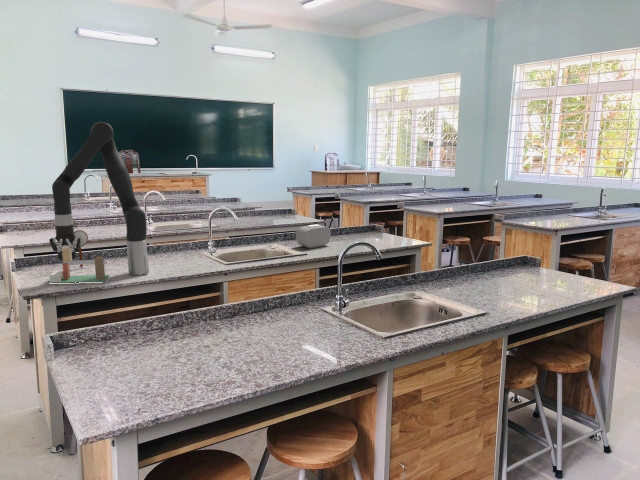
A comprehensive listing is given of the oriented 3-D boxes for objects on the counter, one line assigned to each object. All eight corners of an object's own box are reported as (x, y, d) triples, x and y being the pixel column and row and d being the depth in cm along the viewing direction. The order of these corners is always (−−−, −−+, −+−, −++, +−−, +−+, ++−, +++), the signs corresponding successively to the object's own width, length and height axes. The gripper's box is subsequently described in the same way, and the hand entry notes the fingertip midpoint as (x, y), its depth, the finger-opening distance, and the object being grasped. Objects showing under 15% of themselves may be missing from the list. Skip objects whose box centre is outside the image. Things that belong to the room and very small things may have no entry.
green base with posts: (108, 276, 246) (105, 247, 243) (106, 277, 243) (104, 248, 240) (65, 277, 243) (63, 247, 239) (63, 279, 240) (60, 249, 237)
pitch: (109, 276, 250) (107, 254, 247) (103, 283, 239) (101, 260, 237) (56, 278, 246) (54, 255, 243) (48, 285, 235) (46, 261, 233)
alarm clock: (320, 242, 331) (321, 222, 328) (330, 245, 324) (330, 224, 321) (295, 246, 318) (295, 225, 315) (304, 249, 311) (305, 228, 308)
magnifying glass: (73, 270, 259) (70, 231, 255) (72, 269, 260) (68, 231, 256) (90, 267, 265) (87, 229, 261) (89, 266, 267) (86, 228, 262)
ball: (59, 268, 242) (55, 274, 242) (57, 270, 238) (52, 277, 238) (67, 273, 243) (62, 279, 243) (64, 275, 239) (59, 282, 239)
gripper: (83, 221, 241) (85, 257, 244) (50, 222, 238) (53, 257, 242) (78, 224, 233) (81, 261, 237) (44, 225, 231) (48, 261, 235)
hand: (67, 259), depth 239 cm, fingers open, 4 cm apart
